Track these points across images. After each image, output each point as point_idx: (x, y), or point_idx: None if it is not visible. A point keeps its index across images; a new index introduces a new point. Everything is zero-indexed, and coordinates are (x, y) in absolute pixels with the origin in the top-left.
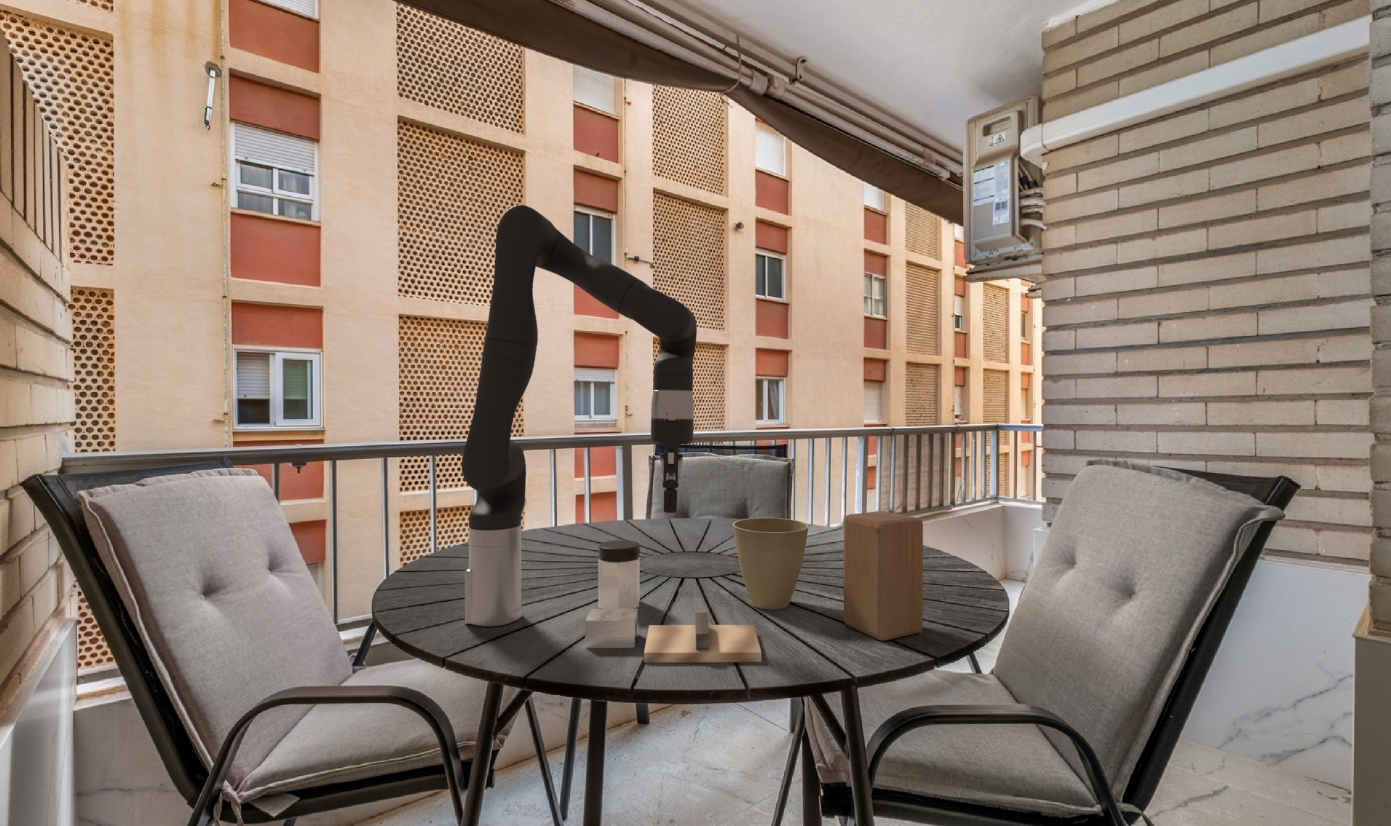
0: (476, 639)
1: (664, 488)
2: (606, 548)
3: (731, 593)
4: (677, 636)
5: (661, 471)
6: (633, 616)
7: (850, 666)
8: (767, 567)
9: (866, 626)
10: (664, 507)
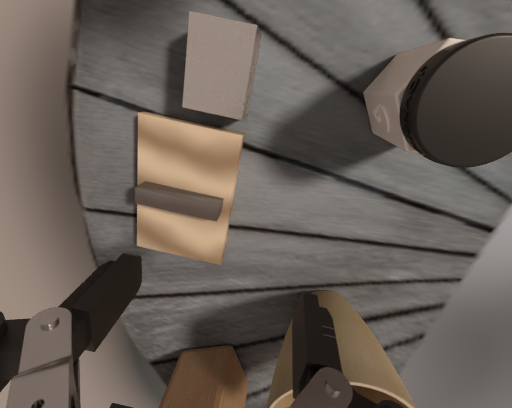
0: None
1: (41, 316)
2: (444, 59)
3: (388, 282)
4: (192, 167)
5: (9, 402)
6: (201, 107)
7: (131, 304)
8: (283, 345)
9: (196, 354)
10: (117, 262)
